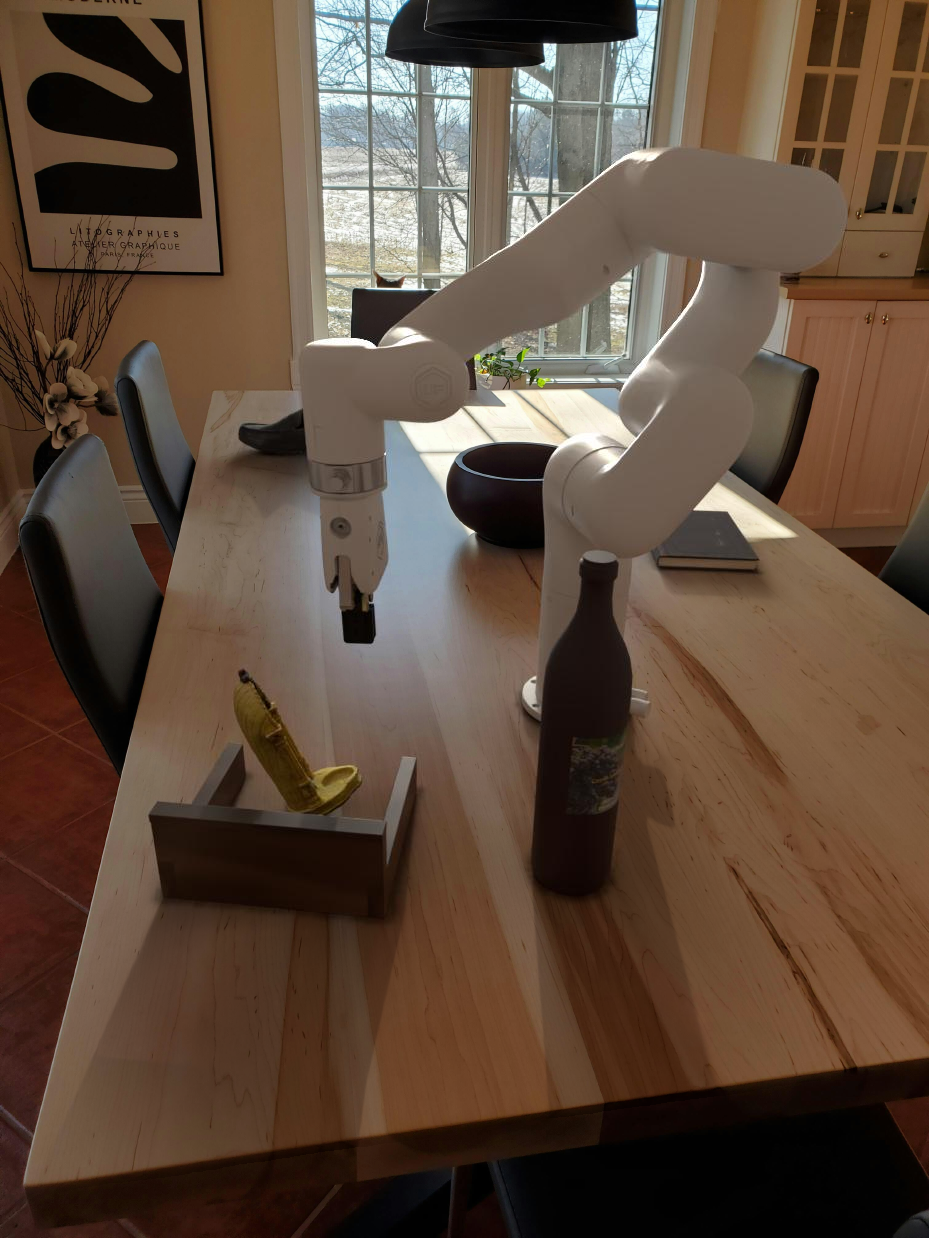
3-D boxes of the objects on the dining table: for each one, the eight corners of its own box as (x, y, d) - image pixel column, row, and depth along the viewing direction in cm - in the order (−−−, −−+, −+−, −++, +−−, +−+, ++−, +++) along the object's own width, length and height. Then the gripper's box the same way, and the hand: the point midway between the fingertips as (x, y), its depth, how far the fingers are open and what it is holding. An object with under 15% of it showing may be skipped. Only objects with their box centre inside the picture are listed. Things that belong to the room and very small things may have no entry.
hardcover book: (725, 523, 164) (727, 511, 163) (757, 572, 143) (759, 559, 142) (637, 520, 164) (639, 508, 163) (656, 568, 144) (658, 555, 143)
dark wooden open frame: (232, 775, 91) (224, 700, 88) (416, 790, 90) (416, 715, 86) (161, 898, 76) (147, 814, 72) (384, 919, 74) (382, 835, 70)
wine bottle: (554, 906, 76) (582, 580, 63) (516, 854, 82) (535, 546, 68) (625, 884, 78) (666, 567, 65) (584, 835, 84) (614, 535, 71)
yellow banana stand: (232, 832, 83) (217, 693, 77) (256, 780, 91) (243, 649, 84) (355, 839, 83) (350, 700, 76) (368, 786, 90) (365, 655, 84)
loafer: (248, 443, 206) (244, 398, 201) (372, 450, 202) (371, 405, 198) (231, 455, 196) (227, 408, 192) (361, 463, 193) (360, 415, 189)
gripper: (372, 498, 80) (383, 676, 88) (398, 451, 93) (405, 610, 102) (289, 497, 81) (308, 674, 89) (327, 451, 94) (340, 608, 102)
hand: (360, 639), depth 95 cm, fingers closed
